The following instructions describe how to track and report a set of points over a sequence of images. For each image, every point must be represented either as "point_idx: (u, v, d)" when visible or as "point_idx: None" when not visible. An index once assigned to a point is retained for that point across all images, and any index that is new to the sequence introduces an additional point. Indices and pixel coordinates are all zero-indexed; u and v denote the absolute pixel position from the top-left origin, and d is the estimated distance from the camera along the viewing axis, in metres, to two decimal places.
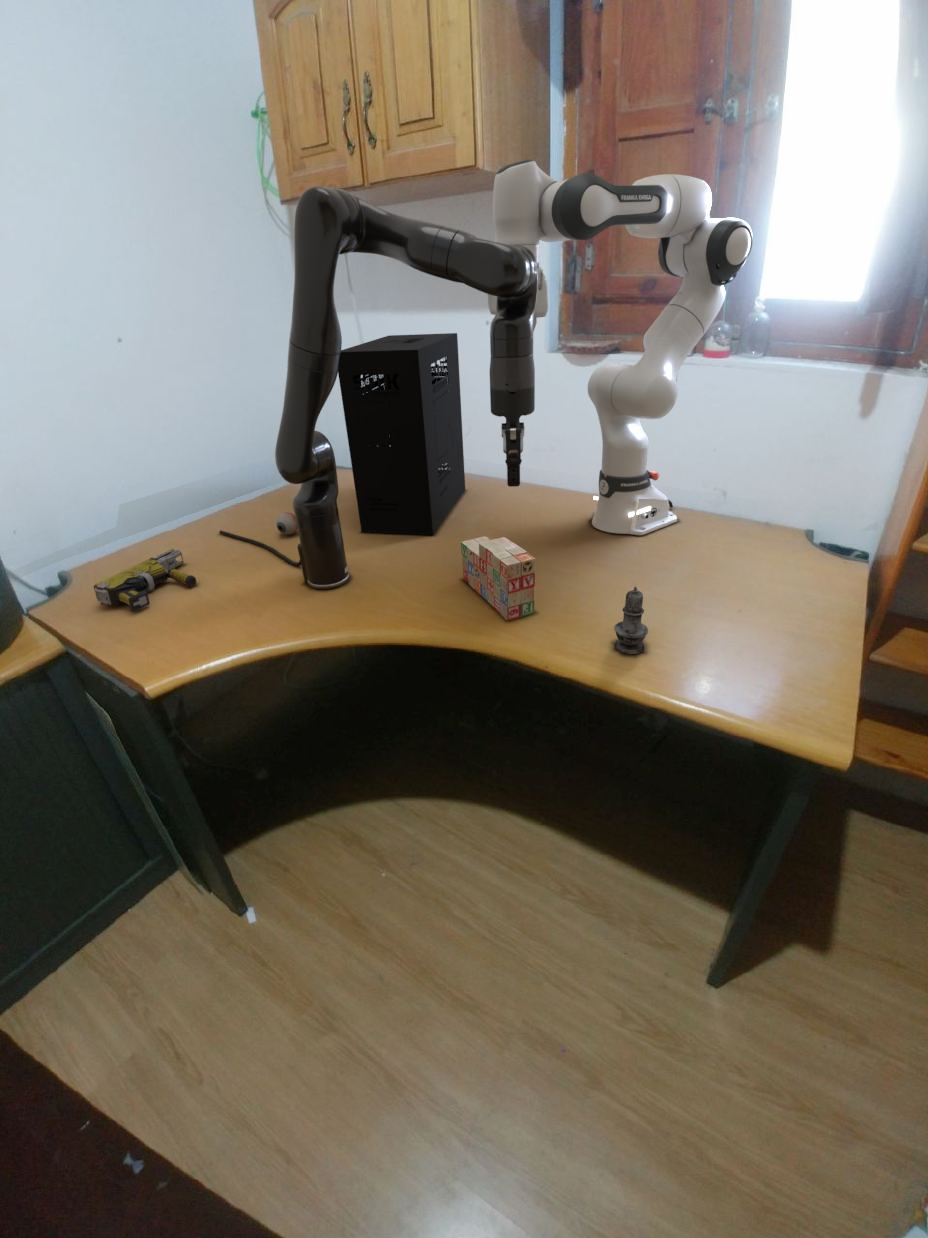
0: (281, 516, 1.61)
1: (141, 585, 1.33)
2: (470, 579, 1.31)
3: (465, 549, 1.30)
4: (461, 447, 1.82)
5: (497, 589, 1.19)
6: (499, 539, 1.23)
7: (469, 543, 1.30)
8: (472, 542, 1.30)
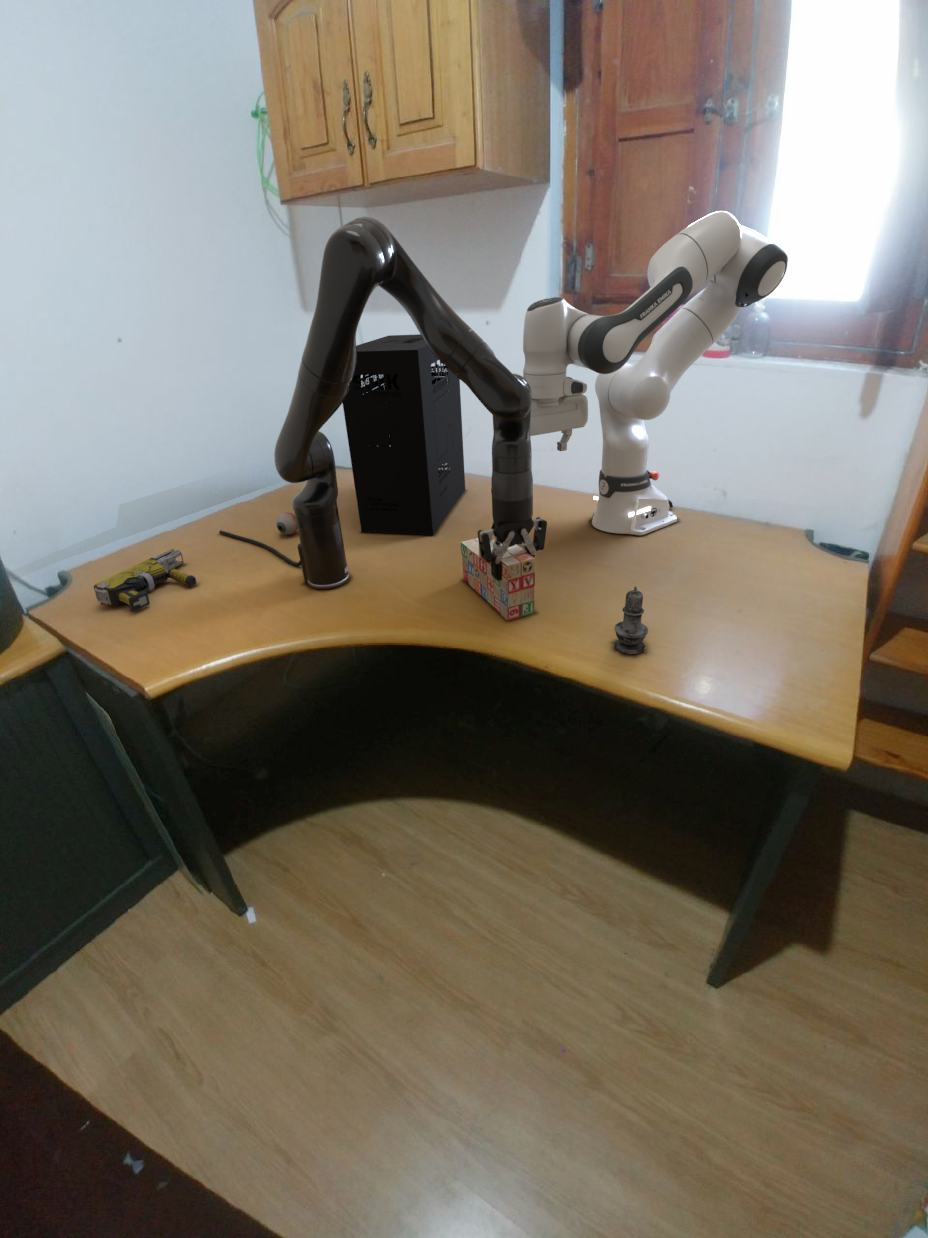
0: (281, 516, 1.61)
1: (141, 585, 1.33)
2: (470, 579, 1.31)
3: (465, 549, 1.30)
4: (461, 447, 1.82)
5: (497, 589, 1.19)
6: None
7: (469, 543, 1.30)
8: (472, 542, 1.30)
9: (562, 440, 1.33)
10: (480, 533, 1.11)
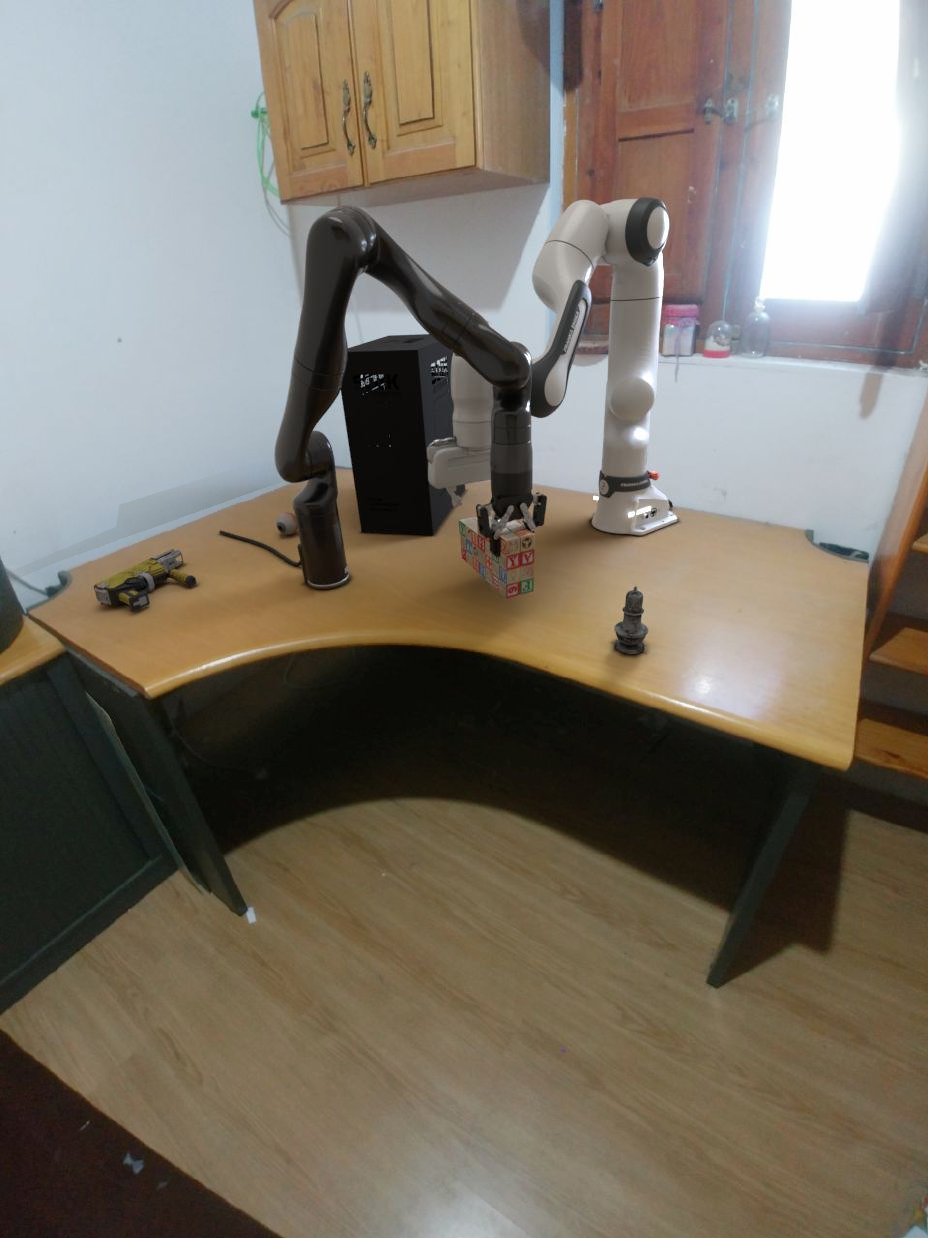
0: (281, 516, 1.61)
1: (141, 585, 1.33)
2: (468, 558, 1.29)
3: (463, 527, 1.27)
4: None
5: (496, 566, 1.17)
6: None
7: (467, 521, 1.27)
8: (470, 520, 1.28)
9: None
10: (478, 507, 1.09)
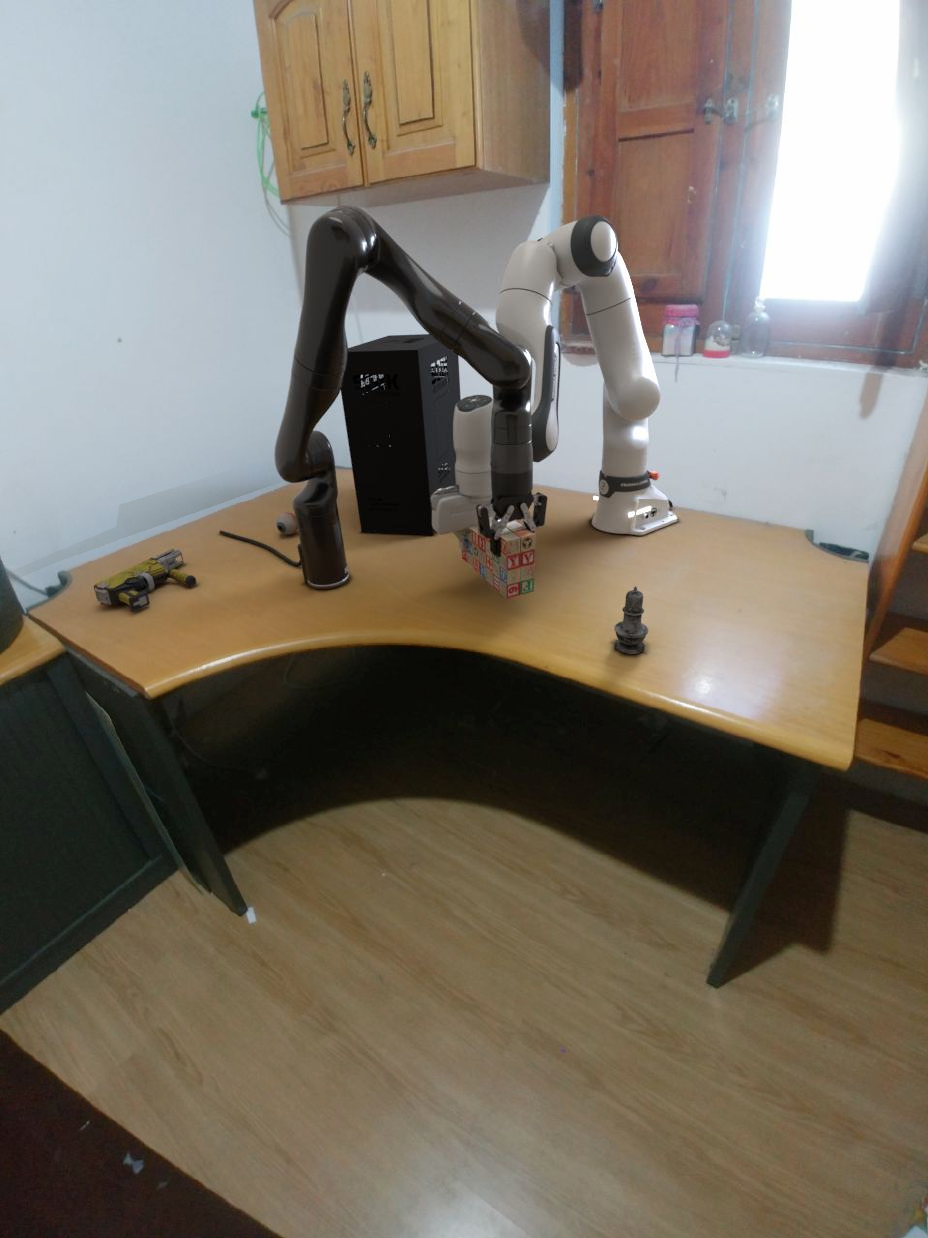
0: (281, 516, 1.61)
1: (141, 585, 1.33)
2: (469, 558, 1.29)
3: None
4: None
5: (496, 566, 1.17)
6: None
7: None
8: None
9: None
10: (478, 508, 1.09)
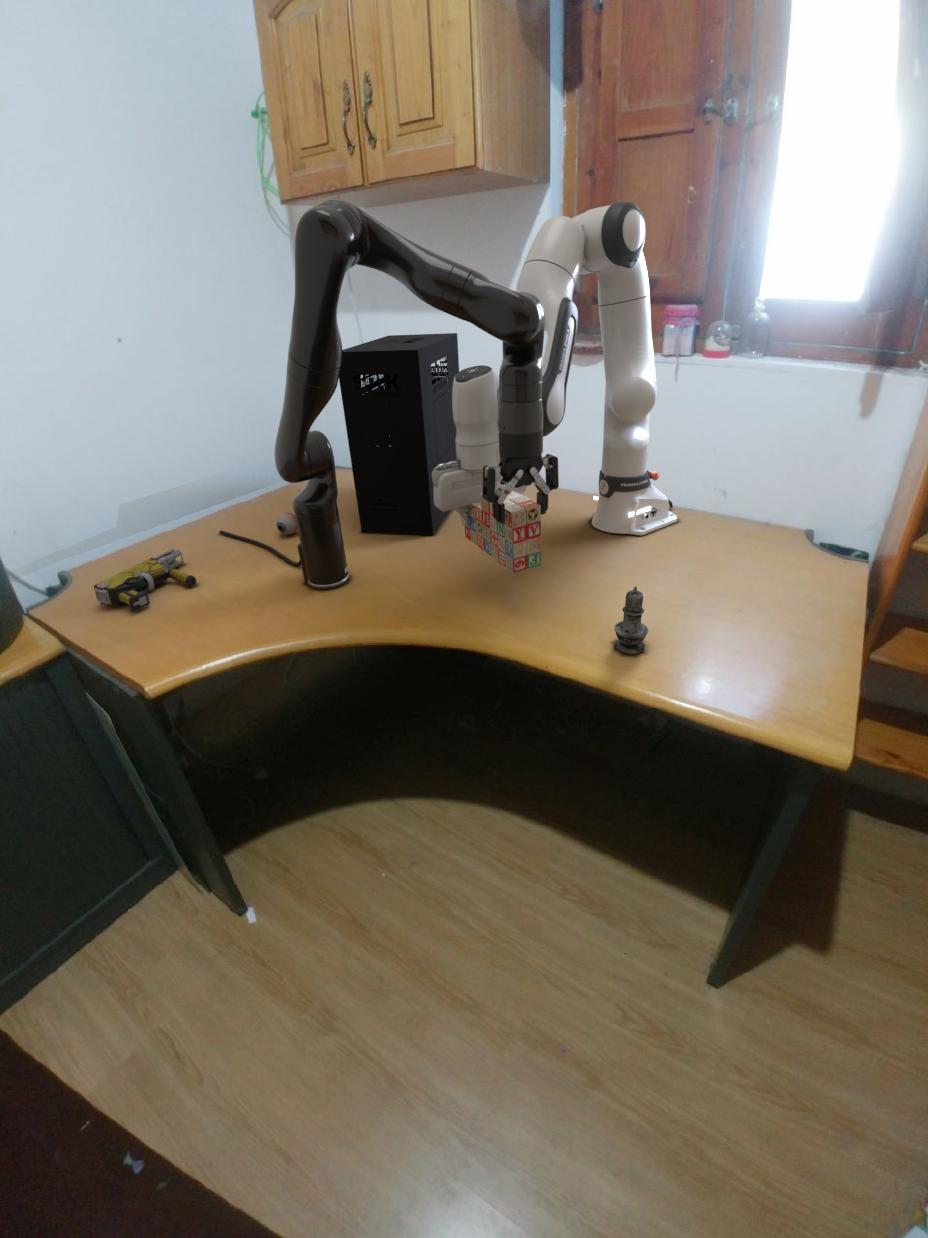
0: (281, 516, 1.61)
1: (141, 585, 1.33)
2: (472, 536, 1.26)
3: None
4: None
5: (501, 540, 1.14)
6: None
7: None
8: None
9: None
10: (486, 468, 1.03)
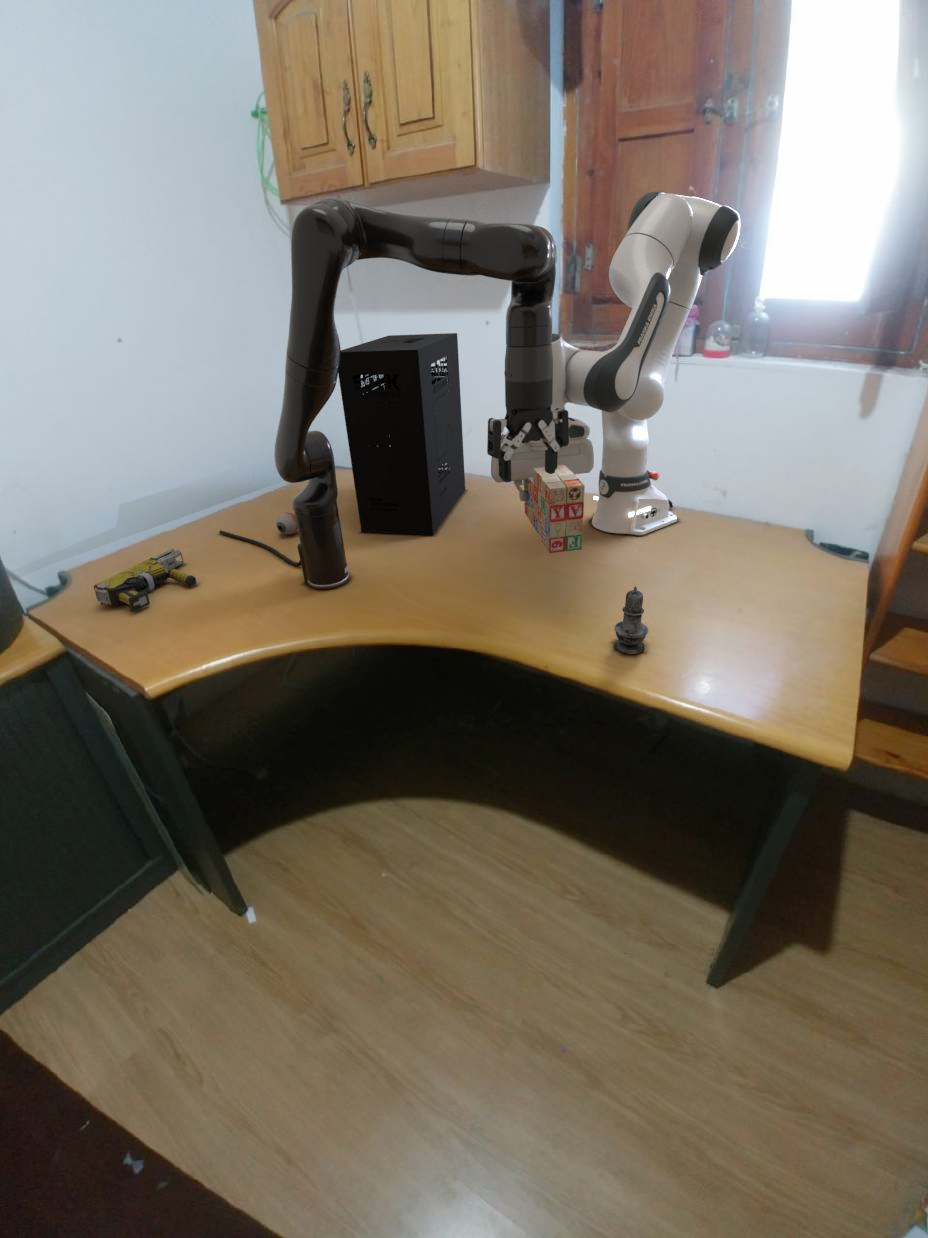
0: (281, 516, 1.61)
1: (141, 585, 1.33)
2: (528, 511, 1.22)
3: None
4: (461, 447, 1.82)
5: (543, 518, 1.10)
6: (557, 466, 1.13)
7: None
8: None
9: None
10: (491, 420, 0.96)
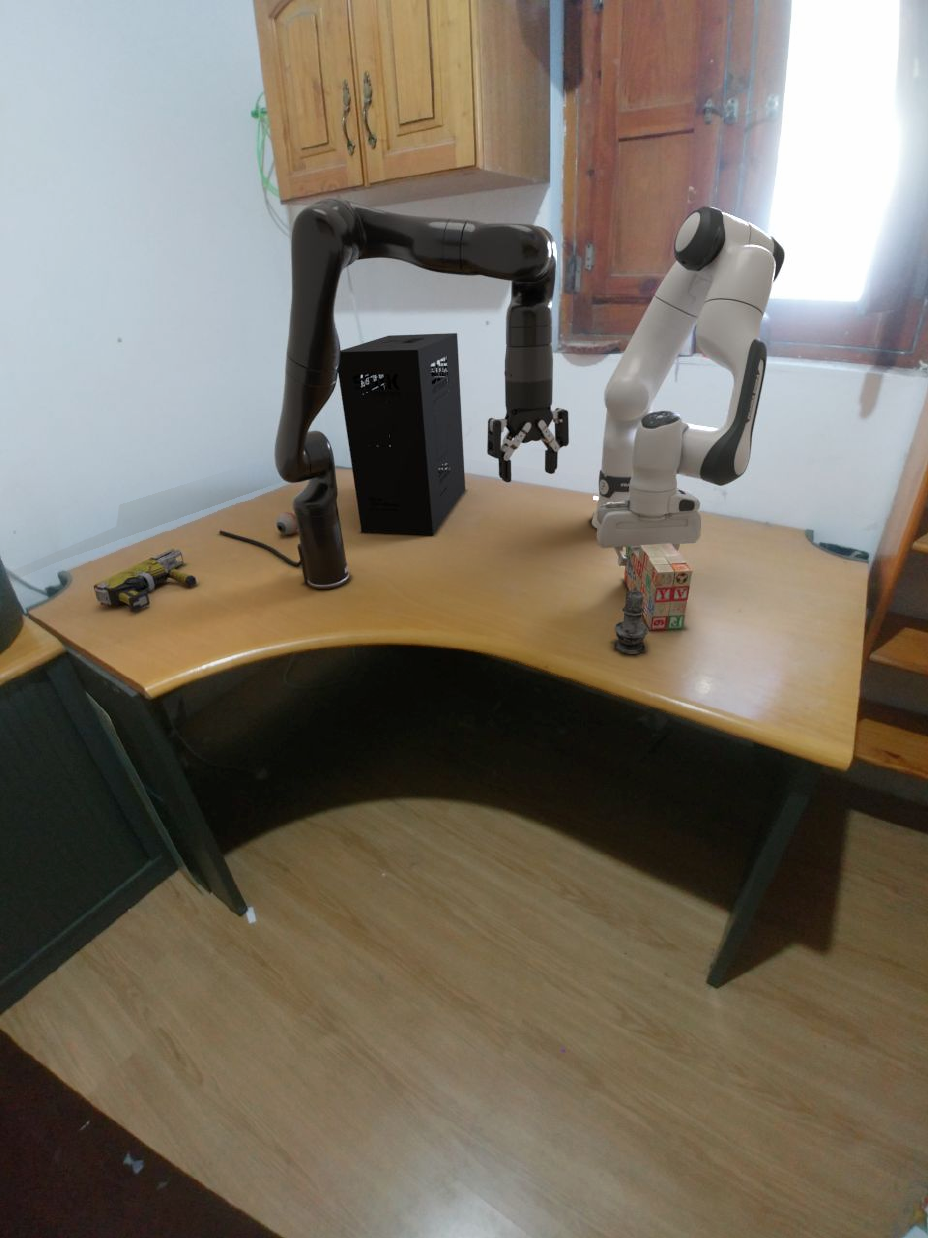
0: (281, 516, 1.61)
1: (141, 585, 1.33)
2: (628, 581, 1.27)
3: (629, 549, 1.25)
4: (461, 447, 1.82)
5: (647, 595, 1.14)
6: (663, 544, 1.17)
7: None
8: None
9: None
10: (491, 420, 0.96)
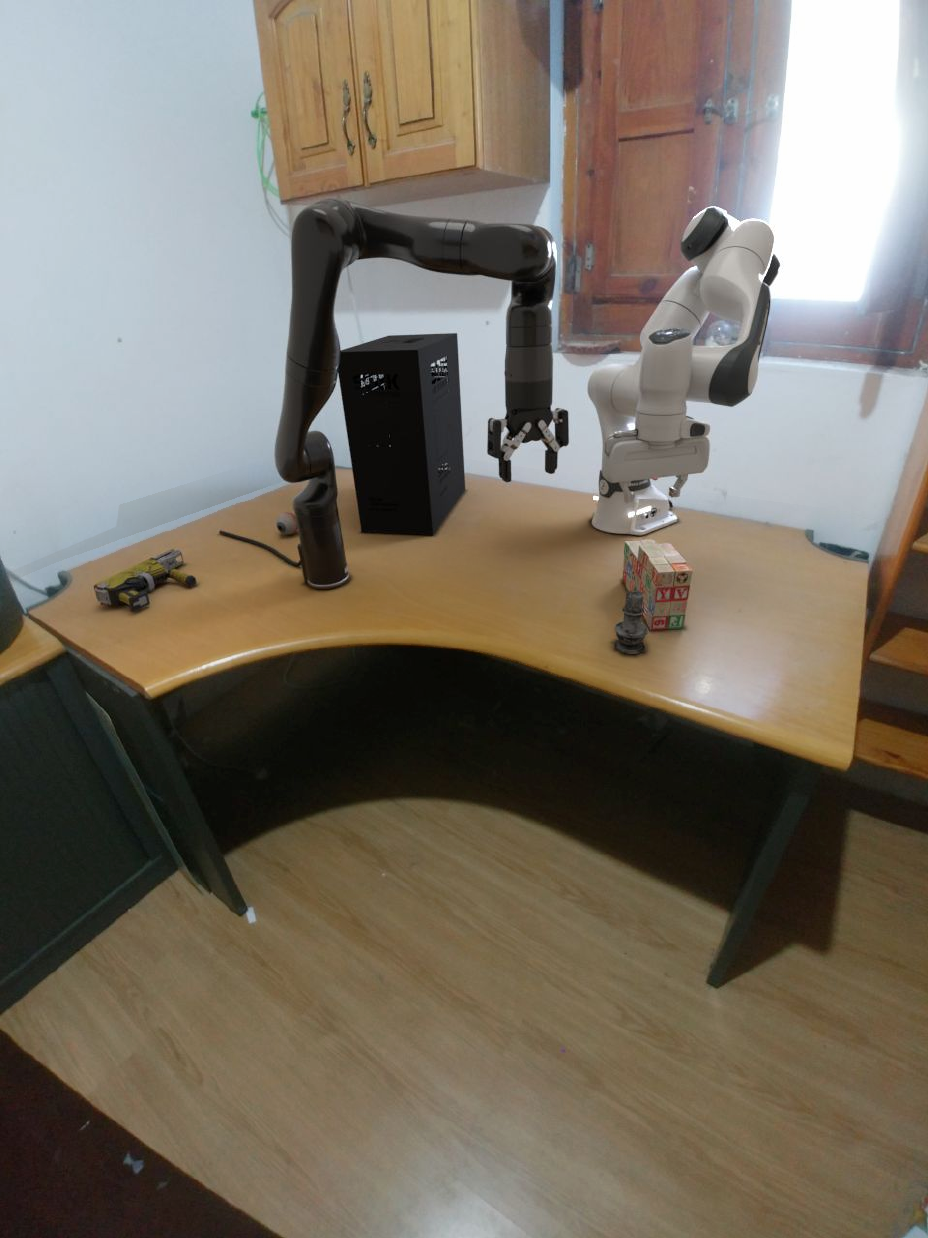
0: (281, 516, 1.61)
1: (141, 585, 1.33)
2: (627, 581, 1.27)
3: (627, 549, 1.25)
4: (461, 447, 1.82)
5: (647, 595, 1.14)
6: (662, 544, 1.17)
7: (633, 544, 1.25)
8: (636, 543, 1.25)
9: (675, 485, 1.18)
10: (491, 420, 0.96)
